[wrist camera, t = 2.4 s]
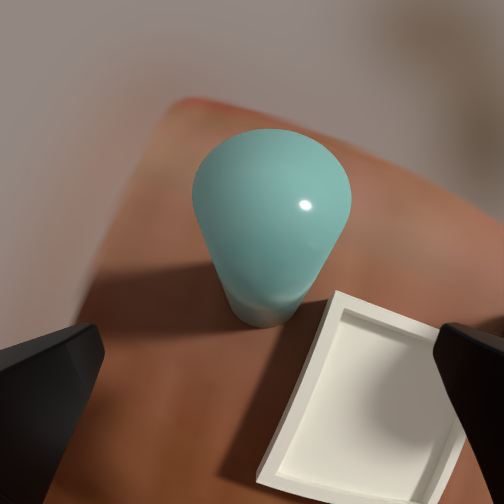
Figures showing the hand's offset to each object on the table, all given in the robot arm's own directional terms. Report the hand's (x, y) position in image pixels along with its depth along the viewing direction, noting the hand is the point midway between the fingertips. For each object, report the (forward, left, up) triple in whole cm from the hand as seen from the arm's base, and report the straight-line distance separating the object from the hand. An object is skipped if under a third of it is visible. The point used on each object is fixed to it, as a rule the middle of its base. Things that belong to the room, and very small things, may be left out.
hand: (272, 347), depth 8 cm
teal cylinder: (+4, +2, -12) cm, 13 cm away
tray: (-1, -8, -12) cm, 15 cm away
